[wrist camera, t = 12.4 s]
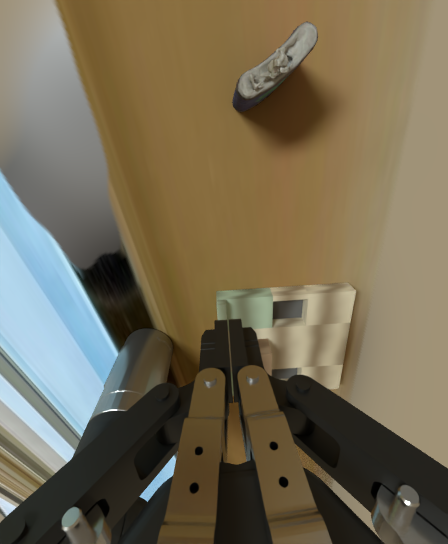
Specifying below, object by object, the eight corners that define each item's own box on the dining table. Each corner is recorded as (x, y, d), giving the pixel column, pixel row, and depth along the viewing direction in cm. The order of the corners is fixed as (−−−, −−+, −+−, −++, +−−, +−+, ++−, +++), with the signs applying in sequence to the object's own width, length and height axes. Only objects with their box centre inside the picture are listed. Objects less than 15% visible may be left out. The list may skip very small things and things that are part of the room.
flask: (287, 46, 32) (318, 4, 23) (299, 70, 34) (333, 39, 24) (227, 98, 35) (232, 80, 25) (240, 119, 36) (249, 109, 26)
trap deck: (347, 282, 47) (360, 295, 43) (332, 376, 57) (341, 394, 53) (216, 291, 47) (216, 304, 43) (224, 384, 57) (224, 402, 53)
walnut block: (267, 338, 48) (272, 353, 44) (267, 363, 51) (271, 379, 47) (234, 340, 48) (236, 356, 44) (236, 365, 51) (237, 382, 47)
